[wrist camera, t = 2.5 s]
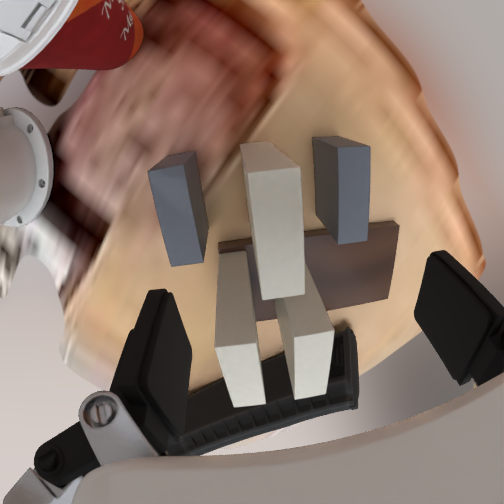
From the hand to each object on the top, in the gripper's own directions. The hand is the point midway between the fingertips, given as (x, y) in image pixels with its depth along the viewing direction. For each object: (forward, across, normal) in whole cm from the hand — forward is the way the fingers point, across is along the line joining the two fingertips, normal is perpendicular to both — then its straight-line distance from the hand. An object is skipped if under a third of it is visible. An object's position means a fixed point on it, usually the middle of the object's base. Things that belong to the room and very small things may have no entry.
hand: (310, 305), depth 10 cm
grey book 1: (+16, +6, 0) cm, 17 cm away
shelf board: (+16, -4, +9) cm, 19 cm away
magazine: (+16, +5, +25) cm, 30 cm away
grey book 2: (+16, -6, 0) cm, 17 cm away
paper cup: (+16, +11, -15) cm, 25 cm away
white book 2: (+16, 0, 0) cm, 16 cm away
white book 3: (+15, -1, +9) cm, 17 cm away
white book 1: (+15, +4, +9) cm, 17 cm away
